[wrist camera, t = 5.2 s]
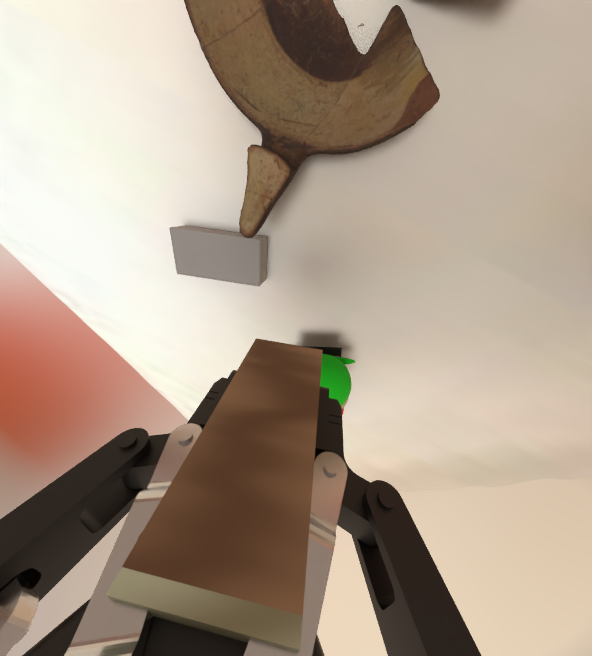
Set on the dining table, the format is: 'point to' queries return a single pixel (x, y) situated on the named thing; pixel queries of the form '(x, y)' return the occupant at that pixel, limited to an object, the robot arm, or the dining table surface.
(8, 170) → the dining table surface
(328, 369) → the toy
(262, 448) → the block
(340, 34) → the oil lamp
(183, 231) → the hammer head
